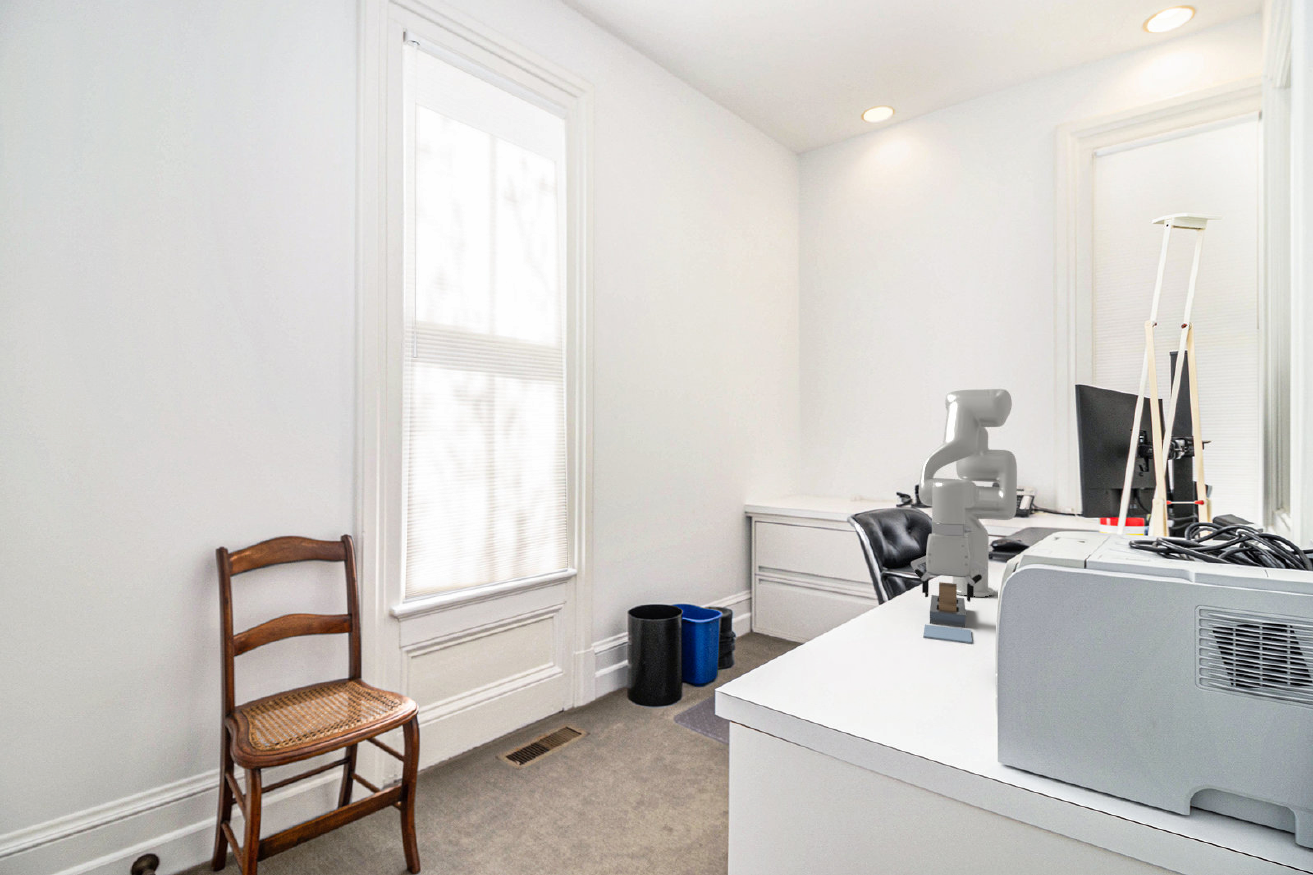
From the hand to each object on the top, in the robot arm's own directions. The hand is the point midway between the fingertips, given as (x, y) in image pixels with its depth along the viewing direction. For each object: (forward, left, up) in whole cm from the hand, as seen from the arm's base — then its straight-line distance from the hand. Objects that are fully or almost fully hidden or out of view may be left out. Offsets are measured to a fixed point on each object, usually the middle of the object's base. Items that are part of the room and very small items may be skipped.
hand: (947, 598), depth 162 cm
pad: (+13, 0, -6) cm, 14 cm away
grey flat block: (-4, 0, -6) cm, 7 cm away
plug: (0, 0, -6) cm, 6 cm away
